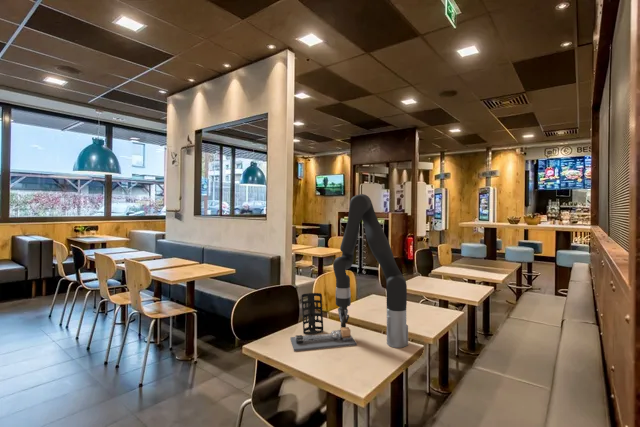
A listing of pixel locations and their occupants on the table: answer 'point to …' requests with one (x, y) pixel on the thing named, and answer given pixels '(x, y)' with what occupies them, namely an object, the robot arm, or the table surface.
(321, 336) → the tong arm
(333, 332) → the base
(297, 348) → the tray
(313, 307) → the holder
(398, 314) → the robot arm
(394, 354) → the table surface
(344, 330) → the tab
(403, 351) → the table surface
